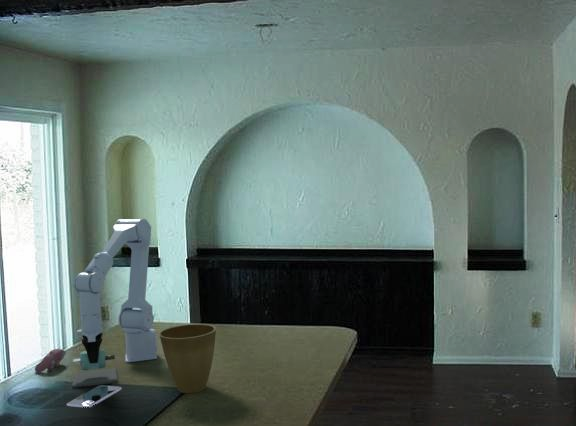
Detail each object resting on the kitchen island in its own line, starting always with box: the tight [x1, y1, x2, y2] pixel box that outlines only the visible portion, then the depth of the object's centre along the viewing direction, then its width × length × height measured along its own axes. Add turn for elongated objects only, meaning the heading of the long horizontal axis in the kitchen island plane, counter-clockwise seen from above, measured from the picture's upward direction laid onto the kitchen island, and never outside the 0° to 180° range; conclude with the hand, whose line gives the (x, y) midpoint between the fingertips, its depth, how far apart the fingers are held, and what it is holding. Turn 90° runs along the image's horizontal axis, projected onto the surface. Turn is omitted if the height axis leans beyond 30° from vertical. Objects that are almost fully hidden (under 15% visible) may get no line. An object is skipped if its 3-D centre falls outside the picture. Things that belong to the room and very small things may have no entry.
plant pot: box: [159, 323, 217, 394], centre depth 177 cm, size 15×15×16 cm
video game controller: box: [34, 348, 67, 374], centre depth 202 cm, size 10×5×7 cm, turn 169°
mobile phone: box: [66, 384, 122, 409], centre depth 175 cm, size 8×1×15 cm
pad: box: [71, 367, 118, 389], centre depth 190 cm, size 12×12×1 cm
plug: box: [72, 348, 116, 371], centre depth 190 cm, size 11×4×4 cm, turn 106°
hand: (93, 360), depth 190 cm, fingers closed on plug, 4 cm apart
